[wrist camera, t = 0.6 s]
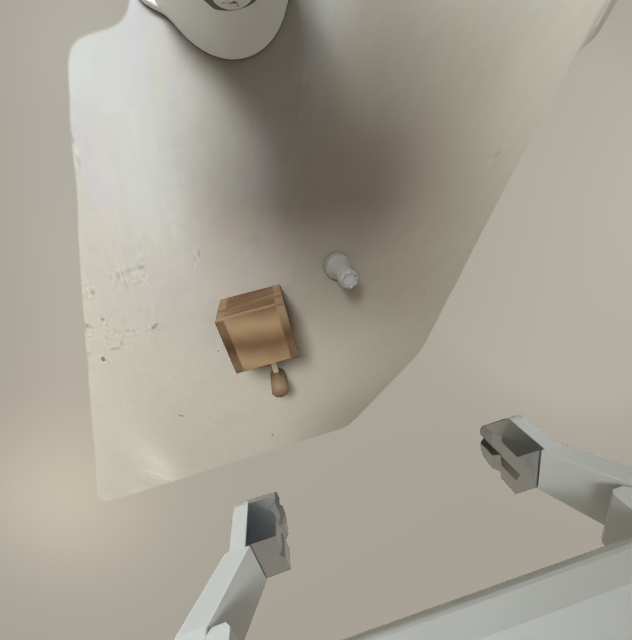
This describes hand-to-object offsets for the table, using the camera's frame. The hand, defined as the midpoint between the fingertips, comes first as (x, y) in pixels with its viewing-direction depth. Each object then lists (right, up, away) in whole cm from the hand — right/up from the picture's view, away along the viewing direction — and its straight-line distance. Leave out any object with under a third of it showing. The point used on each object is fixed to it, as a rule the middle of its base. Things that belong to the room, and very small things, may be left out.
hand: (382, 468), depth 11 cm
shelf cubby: (-12, +6, +40) cm, 42 cm away
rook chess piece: (+1, +15, +38) cm, 41 cm away
